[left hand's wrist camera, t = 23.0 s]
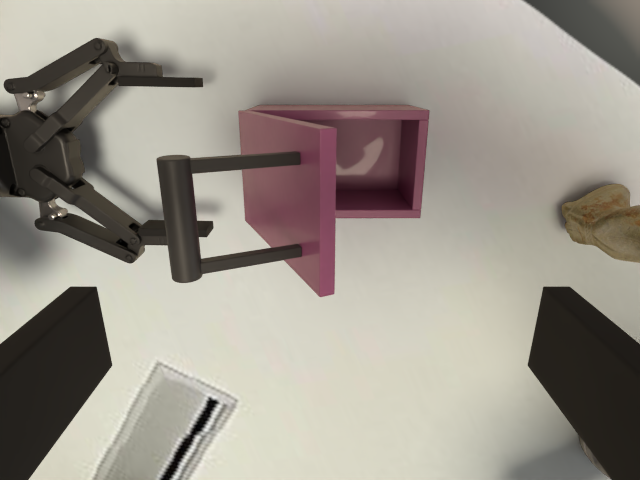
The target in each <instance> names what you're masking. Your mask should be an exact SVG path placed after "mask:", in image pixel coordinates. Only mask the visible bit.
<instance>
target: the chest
mask: <svg viewBox="0 0 640 480" xmlns="http://www.w3.org/2000/svg"><path fill="white" fill-rule="evenodd" d="M248 110H249V111H254V112H259V113H264V114H269V115H274V116H279V117H284V118H289V119H294V120H299V121H304V122H309V123H314V124H319V125H324V126H328V127H333V128H336V129H337V135H336V210H335V218H420V214H421V203H422V192H423V180H424V168H425V156H426V145H427V133H428V119H429V110H426V109H422V108H418V107H414V106H410V105H258V106H256V107H253V108H250V109H248ZM245 111H247V110H245Z"/></svg>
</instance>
